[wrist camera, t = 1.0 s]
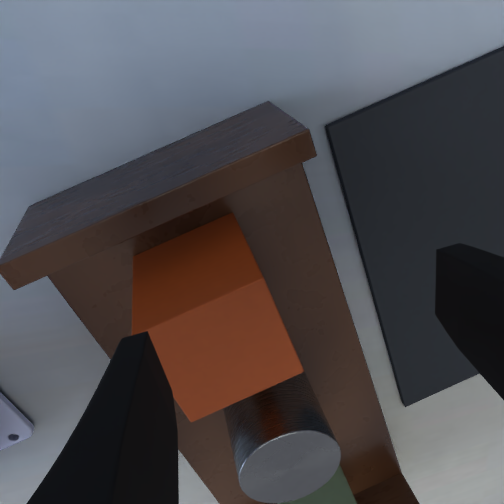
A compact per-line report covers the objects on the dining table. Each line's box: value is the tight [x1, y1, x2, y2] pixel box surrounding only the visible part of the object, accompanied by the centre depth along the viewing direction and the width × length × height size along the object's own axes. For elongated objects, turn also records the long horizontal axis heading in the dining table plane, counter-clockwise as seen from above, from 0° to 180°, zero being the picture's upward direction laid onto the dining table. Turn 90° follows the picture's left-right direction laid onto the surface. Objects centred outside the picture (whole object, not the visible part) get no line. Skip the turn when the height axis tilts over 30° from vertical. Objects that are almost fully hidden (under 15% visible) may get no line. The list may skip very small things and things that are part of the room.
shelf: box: [0, 101, 419, 504], centre depth 23 cm, size 11×26×5 cm, turn 20°
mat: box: [325, 47, 504, 407], centre depth 25 cm, size 10×20×1 cm, turn 20°
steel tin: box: [223, 372, 341, 503], centre depth 21 cm, size 5×5×4 cm
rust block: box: [132, 213, 304, 422], centre depth 17 cm, size 4×4×5 cm
